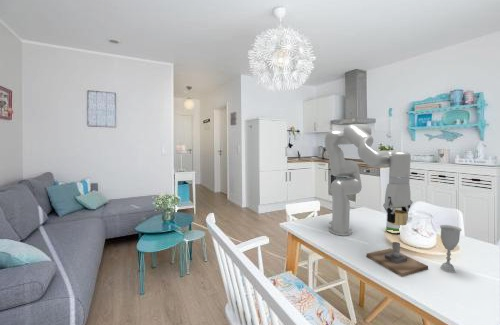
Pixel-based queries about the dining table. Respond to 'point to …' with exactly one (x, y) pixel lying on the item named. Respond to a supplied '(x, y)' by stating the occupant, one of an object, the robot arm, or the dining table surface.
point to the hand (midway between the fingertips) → (397, 220)
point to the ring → (400, 217)
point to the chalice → (449, 244)
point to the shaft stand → (397, 261)
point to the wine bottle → (392, 226)
